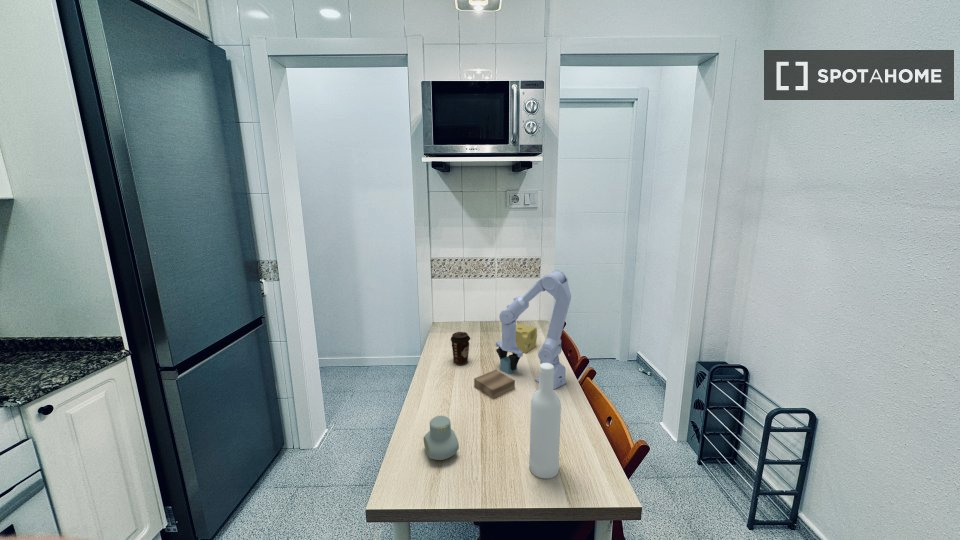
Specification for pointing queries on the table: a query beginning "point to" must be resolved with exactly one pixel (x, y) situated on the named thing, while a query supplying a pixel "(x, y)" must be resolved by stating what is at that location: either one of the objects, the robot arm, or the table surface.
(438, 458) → the air freshener
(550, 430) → the bottle
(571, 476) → the table surface
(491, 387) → the plate
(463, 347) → the coffee cup
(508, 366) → the teal cube
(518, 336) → the cheese
